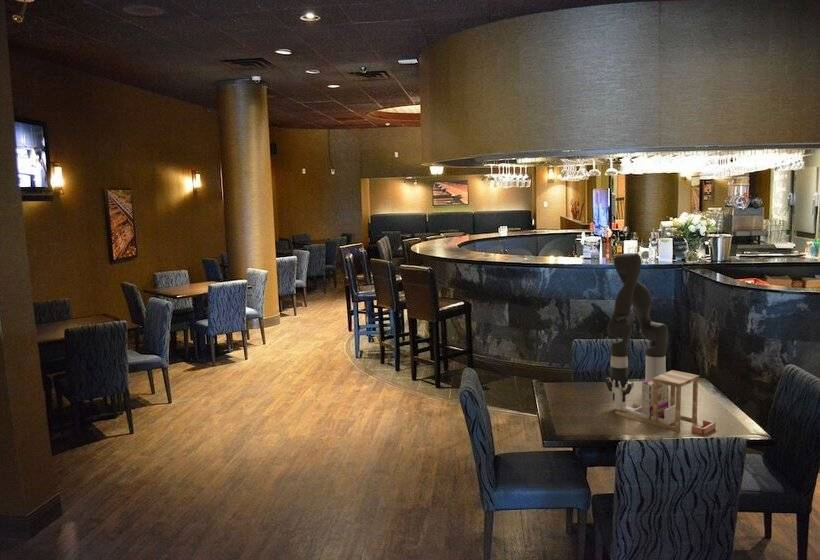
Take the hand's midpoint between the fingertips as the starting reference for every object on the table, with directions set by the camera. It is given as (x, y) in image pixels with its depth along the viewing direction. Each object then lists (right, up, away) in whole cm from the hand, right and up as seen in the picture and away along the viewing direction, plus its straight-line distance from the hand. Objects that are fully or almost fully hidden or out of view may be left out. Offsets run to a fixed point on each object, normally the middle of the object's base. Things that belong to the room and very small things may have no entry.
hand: (618, 401), depth 306 cm
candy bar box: (+11, -5, -13) cm, 18 cm away
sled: (+8, -4, -9) cm, 13 cm away
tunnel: (+12, -5, -13) cm, 18 cm away
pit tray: (+25, -7, -30) cm, 40 cm away
